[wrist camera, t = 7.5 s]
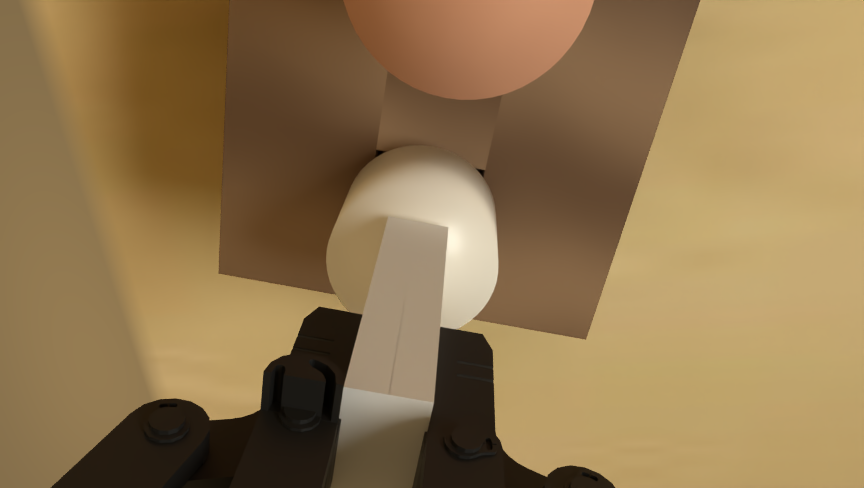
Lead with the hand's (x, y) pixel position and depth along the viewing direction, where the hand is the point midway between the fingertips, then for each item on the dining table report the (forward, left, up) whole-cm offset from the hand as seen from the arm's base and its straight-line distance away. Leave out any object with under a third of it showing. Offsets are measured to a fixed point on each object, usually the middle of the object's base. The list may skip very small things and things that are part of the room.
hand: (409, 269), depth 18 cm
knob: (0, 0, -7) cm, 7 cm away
